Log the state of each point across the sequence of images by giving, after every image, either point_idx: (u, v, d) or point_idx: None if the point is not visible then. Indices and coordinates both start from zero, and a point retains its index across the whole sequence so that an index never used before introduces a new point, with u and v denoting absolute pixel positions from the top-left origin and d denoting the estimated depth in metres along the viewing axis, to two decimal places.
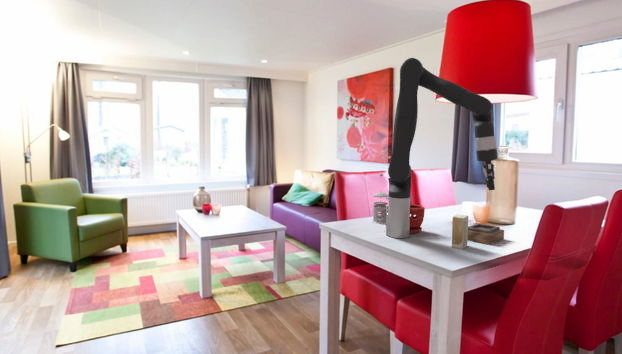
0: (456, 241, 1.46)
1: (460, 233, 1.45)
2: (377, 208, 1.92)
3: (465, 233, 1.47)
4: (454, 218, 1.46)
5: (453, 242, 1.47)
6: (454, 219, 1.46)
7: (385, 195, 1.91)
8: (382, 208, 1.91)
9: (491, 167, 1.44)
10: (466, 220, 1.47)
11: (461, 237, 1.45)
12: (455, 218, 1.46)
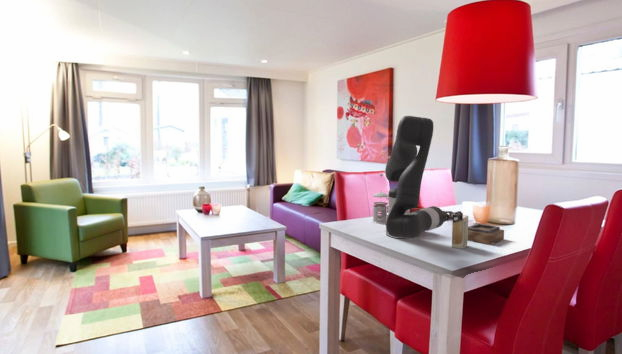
0: (456, 241, 1.46)
1: (460, 233, 1.45)
2: (377, 208, 1.92)
3: (465, 233, 1.47)
4: None
5: (453, 242, 1.47)
6: None
7: (385, 195, 1.91)
8: (382, 208, 1.91)
9: None
10: (466, 220, 1.47)
11: (461, 237, 1.45)
12: None
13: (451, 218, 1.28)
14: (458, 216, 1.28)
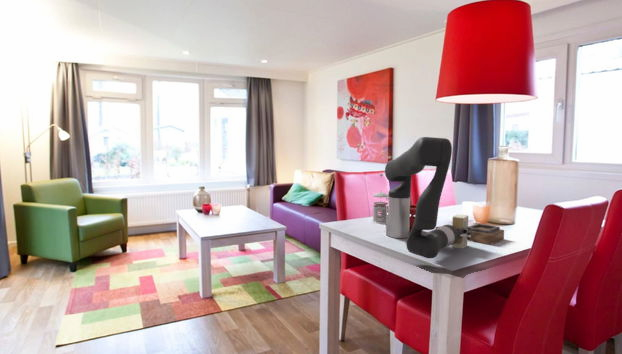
0: None
1: None
2: (377, 208, 1.92)
3: None
4: (454, 218, 1.46)
5: None
6: (454, 219, 1.46)
7: (385, 195, 1.91)
8: (382, 208, 1.91)
9: None
10: (466, 220, 1.47)
11: None
12: (455, 218, 1.46)
13: (466, 235, 1.39)
14: (471, 233, 1.40)
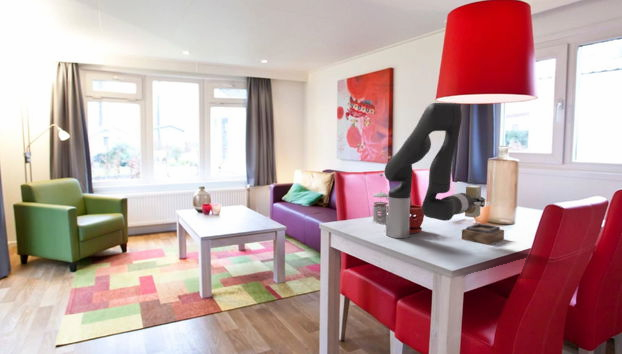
0: (469, 210, 1.50)
1: None
2: (377, 208, 1.92)
3: None
4: (467, 188, 1.50)
5: None
6: (467, 189, 1.50)
7: (385, 195, 1.91)
8: (382, 208, 1.91)
9: None
10: (479, 190, 1.51)
11: (474, 206, 1.49)
12: (468, 188, 1.50)
13: (479, 203, 1.43)
14: (484, 201, 1.44)
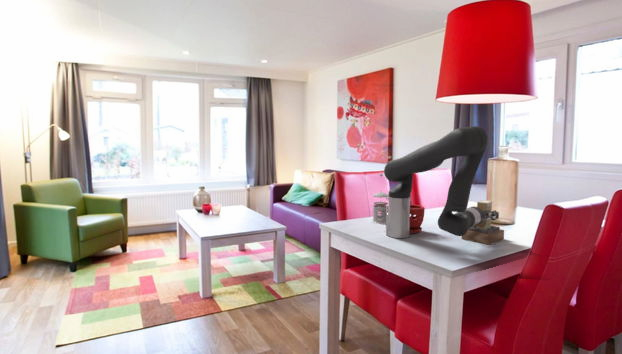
0: (480, 224, 1.57)
1: None
2: (377, 208, 1.92)
3: None
4: (479, 203, 1.56)
5: (477, 225, 1.58)
6: (479, 204, 1.56)
7: (385, 195, 1.91)
8: (382, 208, 1.91)
9: None
10: (490, 205, 1.57)
11: (485, 221, 1.55)
12: (480, 203, 1.56)
13: (490, 217, 1.49)
14: (496, 215, 1.49)
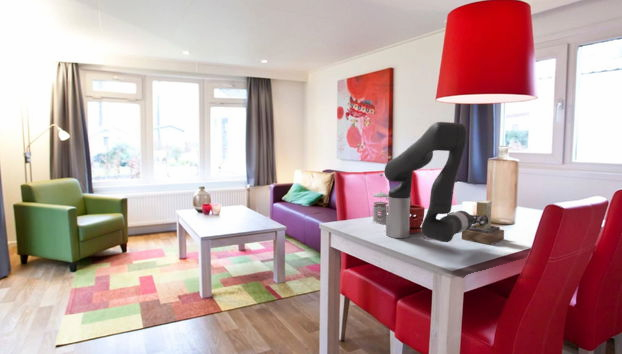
0: None
1: None
2: (377, 208, 1.92)
3: None
4: (478, 203, 1.57)
5: (477, 225, 1.58)
6: (478, 204, 1.57)
7: (385, 195, 1.91)
8: (382, 208, 1.91)
9: None
10: (489, 205, 1.57)
11: None
12: (479, 203, 1.56)
13: (478, 221, 1.40)
14: (484, 220, 1.40)
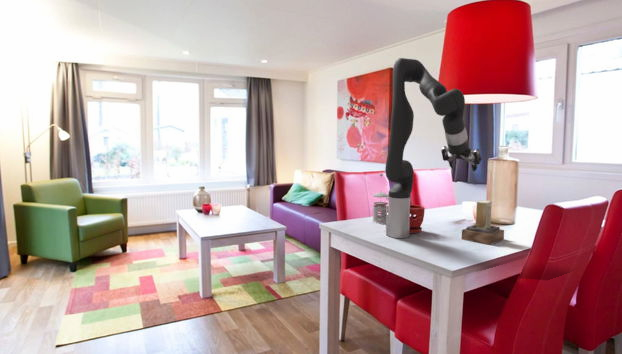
0: (480, 224, 1.57)
1: (483, 217, 1.56)
2: (377, 208, 1.92)
3: (488, 217, 1.57)
4: (478, 203, 1.57)
5: (477, 225, 1.58)
6: (478, 204, 1.57)
7: (385, 195, 1.91)
8: (382, 208, 1.91)
9: None
10: (489, 205, 1.57)
11: (485, 221, 1.55)
12: (479, 203, 1.56)
13: (473, 151, 1.41)
14: (479, 154, 1.42)
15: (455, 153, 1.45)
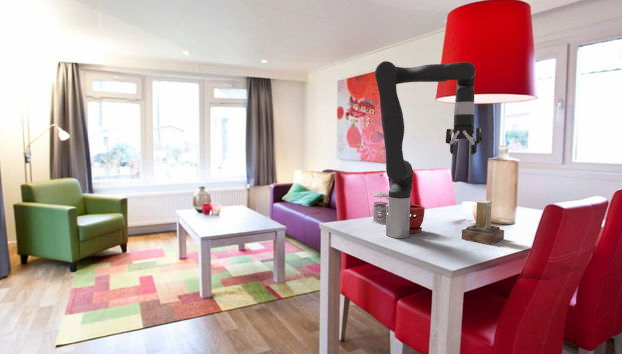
0: (480, 224, 1.57)
1: (483, 217, 1.56)
2: (377, 208, 1.92)
3: (488, 217, 1.57)
4: (478, 203, 1.57)
5: (477, 225, 1.58)
6: (478, 204, 1.57)
7: (385, 195, 1.91)
8: (382, 208, 1.91)
9: None
10: (489, 205, 1.57)
11: (485, 221, 1.55)
12: (479, 203, 1.56)
13: None
14: (481, 133, 1.48)
15: (459, 130, 1.52)
